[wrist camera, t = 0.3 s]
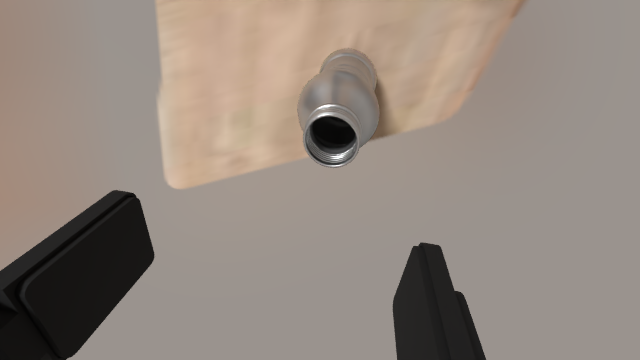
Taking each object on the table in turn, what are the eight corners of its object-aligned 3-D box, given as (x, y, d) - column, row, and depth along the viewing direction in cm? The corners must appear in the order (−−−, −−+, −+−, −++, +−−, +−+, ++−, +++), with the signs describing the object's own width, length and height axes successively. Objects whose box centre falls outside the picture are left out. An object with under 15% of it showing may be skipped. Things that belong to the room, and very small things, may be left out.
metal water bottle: (340, 112, 37) (318, 201, 21) (311, 65, 35) (258, 122, 18) (385, 85, 35) (403, 162, 18) (358, 33, 32) (348, 64, 16)
